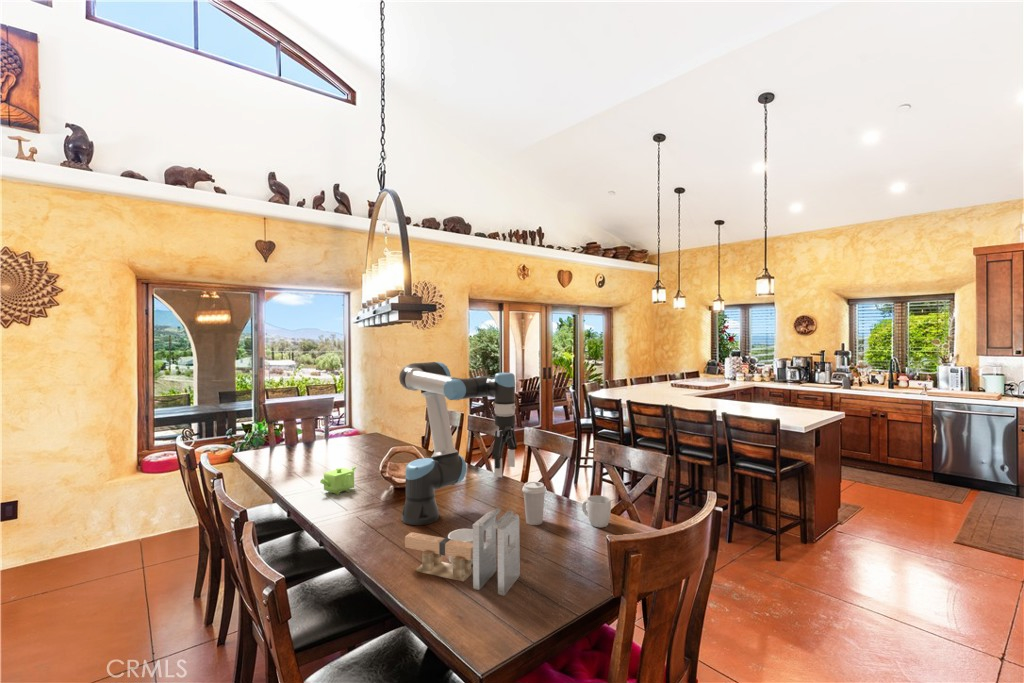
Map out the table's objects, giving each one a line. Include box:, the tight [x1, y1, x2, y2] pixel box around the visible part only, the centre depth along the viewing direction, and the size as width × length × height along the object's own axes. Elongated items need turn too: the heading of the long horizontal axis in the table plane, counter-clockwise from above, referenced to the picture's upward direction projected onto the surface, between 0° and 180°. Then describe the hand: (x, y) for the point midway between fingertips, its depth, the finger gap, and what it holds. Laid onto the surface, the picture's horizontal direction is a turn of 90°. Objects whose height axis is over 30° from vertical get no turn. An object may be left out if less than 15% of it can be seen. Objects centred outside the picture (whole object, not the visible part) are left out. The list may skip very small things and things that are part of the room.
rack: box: [416, 551, 473, 582], centre depth 148 cm, size 17×7×6 cm, turn 67°
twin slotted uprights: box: [472, 507, 521, 596], centre depth 141 cm, size 10×12×20 cm
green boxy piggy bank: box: [320, 465, 358, 496], centre depth 226 cm, size 15×14×11 cm
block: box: [404, 531, 473, 560], centre depth 149 cm, size 24×4×4 cm, turn 67°
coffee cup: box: [521, 481, 547, 526], centre depth 187 cm, size 10×10×15 cm
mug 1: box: [447, 528, 473, 565], centre depth 157 cm, size 13×10×8 cm
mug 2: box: [581, 495, 612, 529], centre depth 185 cm, size 13×9×10 cm
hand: (504, 471), depth 174 cm, fingers open, 13 cm apart
